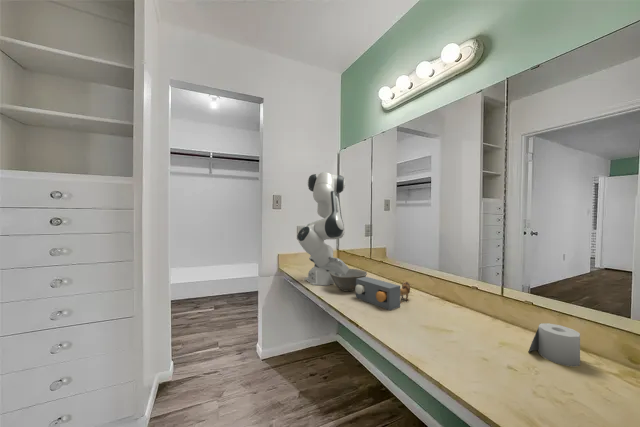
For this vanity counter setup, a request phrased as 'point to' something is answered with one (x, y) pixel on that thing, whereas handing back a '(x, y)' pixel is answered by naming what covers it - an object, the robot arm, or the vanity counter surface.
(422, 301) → the vanity counter surface
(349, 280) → the ceramic bowl
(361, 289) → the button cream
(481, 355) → the vanity counter surface
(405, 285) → the lion figurine
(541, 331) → the toilet tissue
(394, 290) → the control box
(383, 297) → the button orange
